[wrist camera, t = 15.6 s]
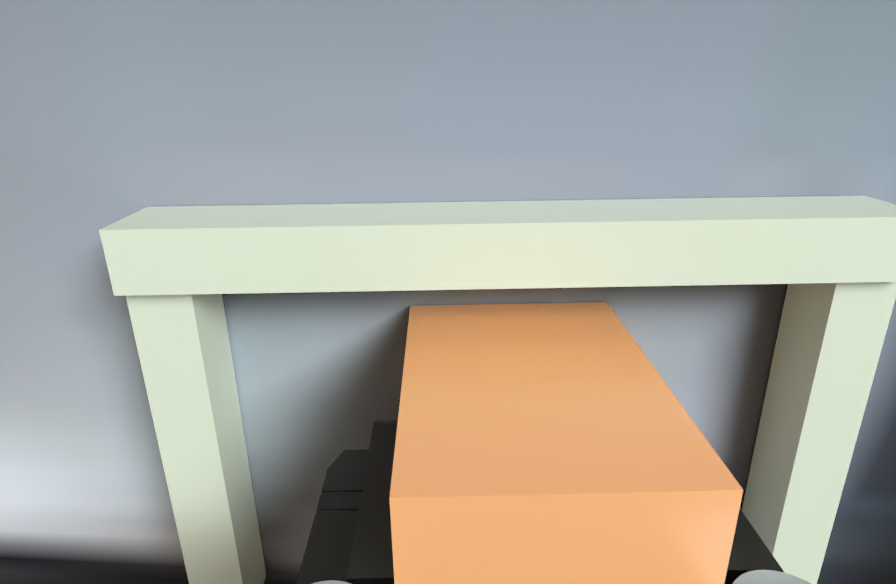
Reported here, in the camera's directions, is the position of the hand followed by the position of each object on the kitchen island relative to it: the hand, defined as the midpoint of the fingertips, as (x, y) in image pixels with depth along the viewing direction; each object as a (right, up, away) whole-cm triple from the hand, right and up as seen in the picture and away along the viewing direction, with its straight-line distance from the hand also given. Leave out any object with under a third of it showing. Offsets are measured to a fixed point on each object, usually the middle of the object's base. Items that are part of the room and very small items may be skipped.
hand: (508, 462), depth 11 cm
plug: (0, -4, +2) cm, 4 cm away
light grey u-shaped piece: (0, 0, +1) cm, 1 cm away
